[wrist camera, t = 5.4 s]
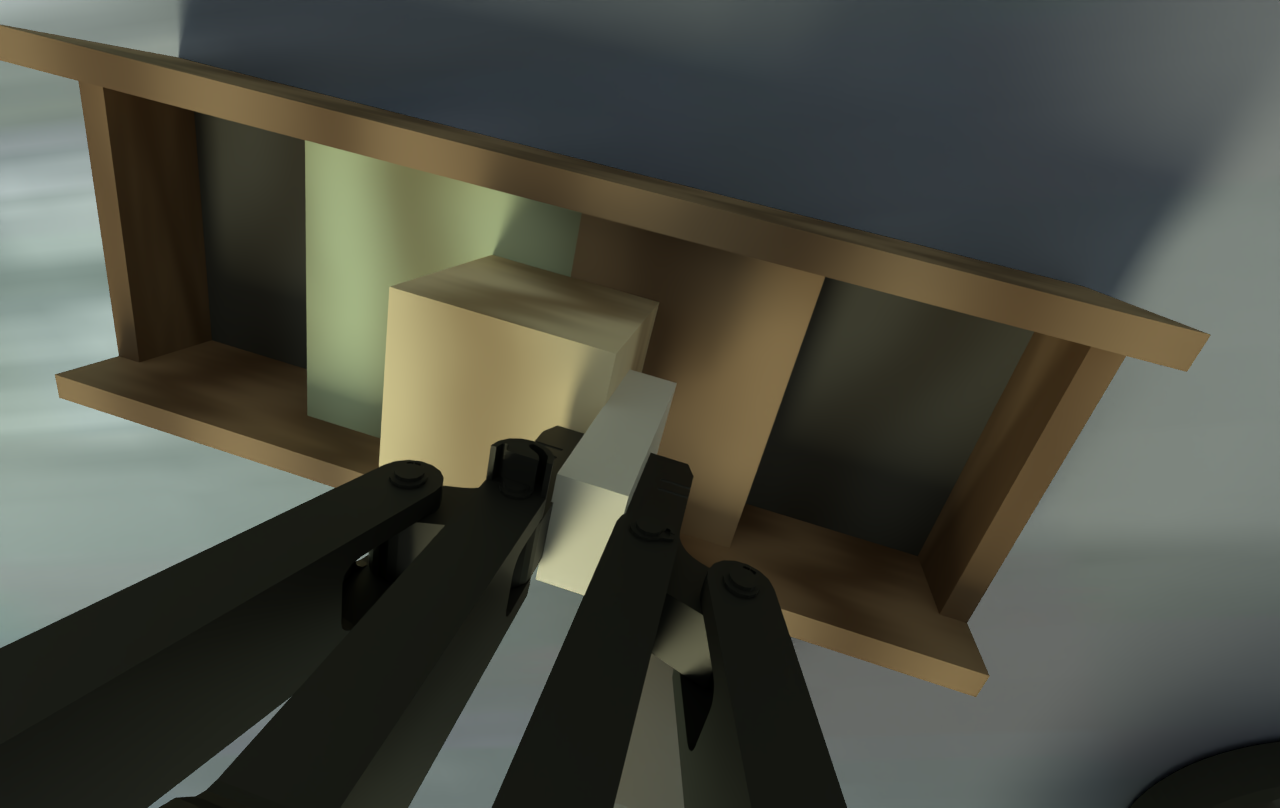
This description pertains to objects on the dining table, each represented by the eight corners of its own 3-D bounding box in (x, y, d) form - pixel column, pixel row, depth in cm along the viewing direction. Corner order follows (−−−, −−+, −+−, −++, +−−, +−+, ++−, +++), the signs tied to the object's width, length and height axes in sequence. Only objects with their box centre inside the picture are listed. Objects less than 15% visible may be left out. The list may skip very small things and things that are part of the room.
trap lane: (1084, 286, 21) (1210, 334, 15) (929, 575, 26) (976, 696, 20) (177, 57, 24) (-15, 21, 18) (202, 351, 29) (59, 397, 24)
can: (560, 604, 31) (443, 845, 20) (698, 585, 29) (652, 844, 18) (607, 713, 33) (526, 984, 22) (739, 703, 31) (721, 998, 20)
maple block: (659, 302, 20) (616, 353, 14) (620, 455, 22) (571, 549, 17) (492, 254, 20) (389, 286, 15) (472, 409, 23) (377, 485, 17)
